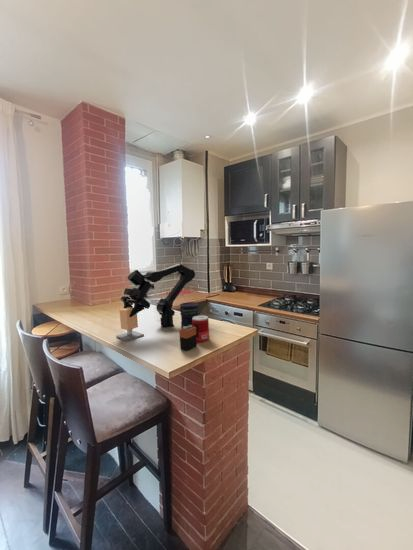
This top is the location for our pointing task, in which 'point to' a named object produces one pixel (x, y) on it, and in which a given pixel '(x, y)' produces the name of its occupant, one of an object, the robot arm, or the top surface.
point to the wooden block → (128, 319)
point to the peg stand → (130, 335)
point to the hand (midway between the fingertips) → (126, 315)
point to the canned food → (201, 327)
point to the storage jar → (188, 313)
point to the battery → (188, 337)
